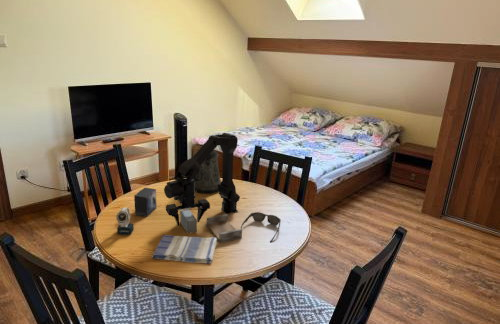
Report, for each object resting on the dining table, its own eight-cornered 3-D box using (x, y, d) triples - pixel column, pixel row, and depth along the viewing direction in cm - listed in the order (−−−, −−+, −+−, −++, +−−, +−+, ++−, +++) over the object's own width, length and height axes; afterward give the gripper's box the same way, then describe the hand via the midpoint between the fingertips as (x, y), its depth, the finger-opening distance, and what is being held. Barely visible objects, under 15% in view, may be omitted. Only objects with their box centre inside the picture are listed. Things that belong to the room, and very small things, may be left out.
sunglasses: (283, 226, 161) (283, 216, 159) (272, 247, 147) (273, 237, 145) (250, 218, 167) (250, 210, 164) (237, 238, 152) (236, 229, 150)
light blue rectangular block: (188, 220, 161) (188, 209, 159) (196, 231, 152) (196, 219, 150) (180, 222, 160) (180, 210, 158) (187, 233, 150) (187, 221, 148)
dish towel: (212, 265, 130) (212, 259, 129) (150, 261, 131) (150, 254, 130) (218, 241, 147) (218, 235, 146) (163, 237, 148) (163, 231, 147)
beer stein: (212, 181, 210) (213, 141, 202) (229, 192, 195) (231, 150, 187) (187, 186, 200) (187, 144, 192) (203, 198, 185) (204, 154, 178)
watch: (116, 236, 145) (114, 213, 142) (122, 227, 153) (120, 204, 149) (129, 237, 145) (127, 213, 142) (135, 227, 153) (133, 205, 149)
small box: (147, 217, 162) (146, 197, 159) (134, 215, 163) (133, 195, 160) (157, 208, 172) (156, 188, 169) (145, 206, 173) (144, 187, 170)
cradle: (226, 221, 162) (227, 214, 161) (241, 237, 149) (242, 229, 148) (206, 225, 158) (206, 217, 156) (220, 242, 145) (220, 234, 143)
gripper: (201, 182, 161) (201, 212, 166) (162, 188, 153) (163, 219, 158) (210, 191, 152) (210, 223, 157) (168, 198, 144) (169, 231, 149)
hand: (188, 223), depth 155 cm, fingers open, 9 cm apart
